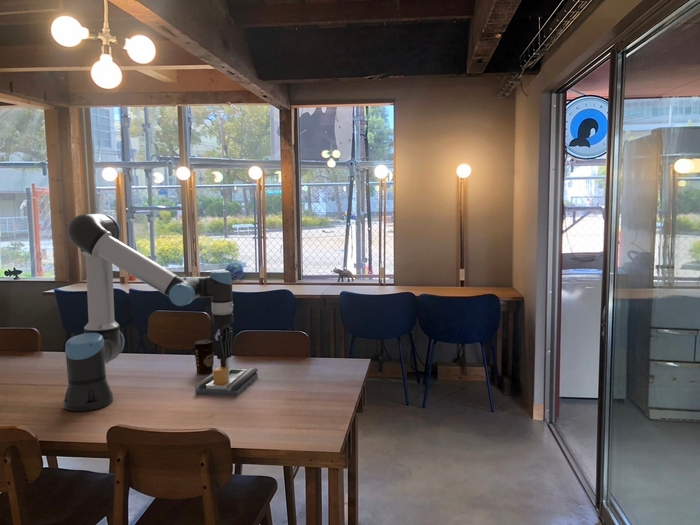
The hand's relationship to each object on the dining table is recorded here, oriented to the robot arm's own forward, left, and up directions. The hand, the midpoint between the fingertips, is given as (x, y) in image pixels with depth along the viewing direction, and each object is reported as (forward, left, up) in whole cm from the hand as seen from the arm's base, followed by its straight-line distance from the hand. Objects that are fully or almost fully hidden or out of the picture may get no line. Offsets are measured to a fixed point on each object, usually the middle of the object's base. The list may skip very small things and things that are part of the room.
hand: (225, 375), depth 197 cm
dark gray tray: (+2, 0, -2) cm, 3 cm away
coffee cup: (+14, +15, -5) cm, 21 cm away
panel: (+2, 0, -4) cm, 5 cm away
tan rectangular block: (-4, 0, -2) cm, 4 cm away
